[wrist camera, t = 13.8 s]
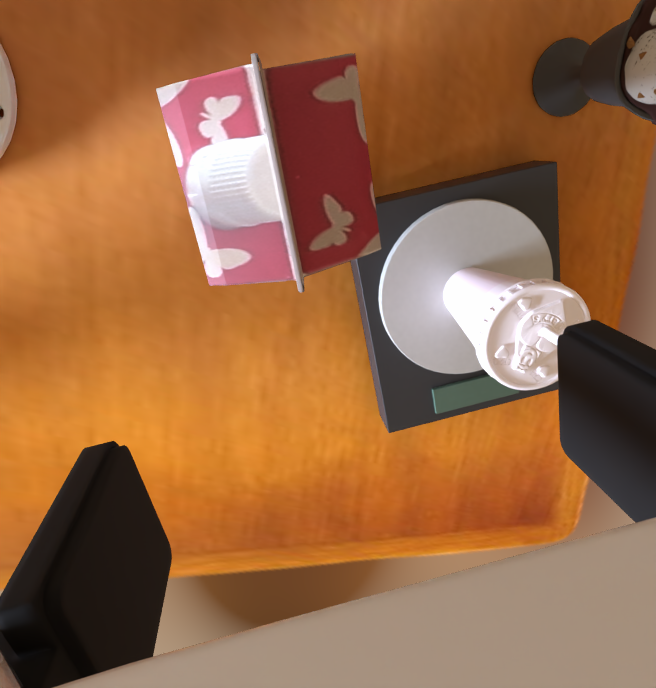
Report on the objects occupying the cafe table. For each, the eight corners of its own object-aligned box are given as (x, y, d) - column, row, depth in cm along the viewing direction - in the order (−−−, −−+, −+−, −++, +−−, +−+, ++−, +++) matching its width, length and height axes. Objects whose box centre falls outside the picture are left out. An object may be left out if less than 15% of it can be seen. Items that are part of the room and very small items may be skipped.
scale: (339, 205, 37) (349, 212, 33) (534, 160, 37) (563, 161, 34) (380, 415, 44) (391, 438, 40) (544, 373, 44) (569, 392, 41)
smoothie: (526, 269, 36) (677, 336, 23) (481, 346, 38) (599, 447, 25) (452, 233, 35) (571, 284, 22) (409, 315, 36) (496, 407, 24)
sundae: (509, 122, 36) (668, 106, 22) (536, 15, 34) (732, -77, 20) (590, 137, 37) (789, 130, 24) (622, 34, 35) (862, -40, 21)
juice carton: (230, 220, 36) (200, 313, 16) (205, 119, 33) (132, 75, 13) (320, 202, 36) (406, 270, 16) (303, 101, 34) (378, 31, 14)
